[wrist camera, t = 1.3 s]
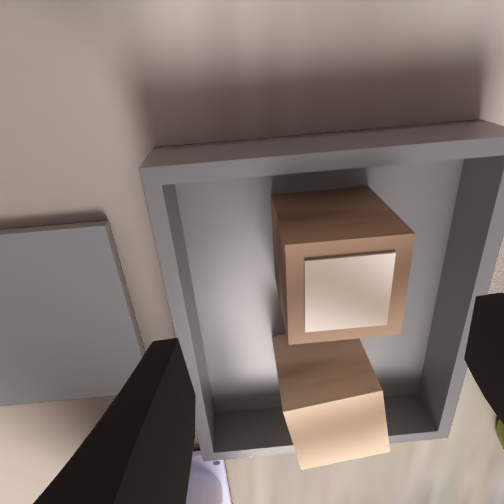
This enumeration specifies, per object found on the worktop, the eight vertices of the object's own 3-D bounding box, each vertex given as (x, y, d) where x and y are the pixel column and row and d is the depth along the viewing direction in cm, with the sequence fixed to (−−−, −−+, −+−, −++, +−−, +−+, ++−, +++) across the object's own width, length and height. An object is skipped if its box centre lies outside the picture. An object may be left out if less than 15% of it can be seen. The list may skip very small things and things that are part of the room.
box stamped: (362, 269, 20) (401, 336, 15) (275, 277, 20) (288, 346, 15) (368, 186, 17) (416, 234, 13) (270, 194, 17) (285, 246, 13)
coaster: (153, 384, 23) (152, 391, 23) (-27, 400, 23) (-33, 409, 23) (108, 220, 18) (104, 225, 18) (-126, 240, 18) (-136, 246, 17)
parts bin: (423, 394, 25) (448, 437, 22) (205, 414, 25) (203, 461, 22) (480, 119, 17) (531, 134, 14) (154, 147, 17) (138, 168, 14)
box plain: (359, 374, 23) (390, 451, 19) (287, 390, 24) (301, 469, 19) (350, 318, 21) (382, 390, 17) (271, 336, 21) (283, 411, 17)
